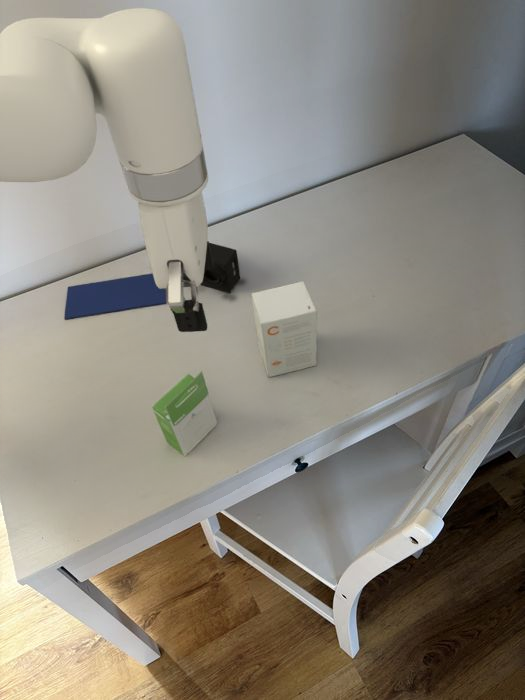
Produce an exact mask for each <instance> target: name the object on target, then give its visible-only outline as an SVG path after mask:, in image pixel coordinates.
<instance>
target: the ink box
mask: <svg viewBox="0 0 525 700" xmlns="http://www.w3.org/2000/svg"><path fill="white" fill-rule="evenodd" d="M151 409H152V411H153V414H154V416H155V418H156V421H157V423H158V425H159V427H160V428H159V429H160V430H161V432H162V435H163V437H164V439H165V441H166V442H167V443H168V445H170V446H171V447H172V448H173V449H175V450H176V451H177V452H179V453H180V455H182V456H183V457H186V456H188V454H189V453H190V452H191V451H192V450H194V449H195V448H196V447H197V445H199V444H200V442H202V441H203V439H204V438H206V436H208V435H209V433H210V432H211V431H212V430H213V429H215V428H216V426H217V425H218V420H217V417H216V413H215V410H214V406H213V403H212V400H211V397H210V393H209V389H208V386H207V383H206V380H205V377H204V374H203V371H202V370H201V371H200V372H199V373H198V374H197V375H196V376H195V377H194V376H193V375H191V374H190V373H188V374H187V375H185V376H184V377H183V378H182V379H181V380H179V382H178V383H177V384H175V385H174V386H173V387H172V388H171V389H170V390H169V391H168V392H167V393H166V394H165V395H163V396H162V397H161V398H159V400H157V402H155V403H154V404H153V405H152V406H151Z"/></svg>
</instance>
